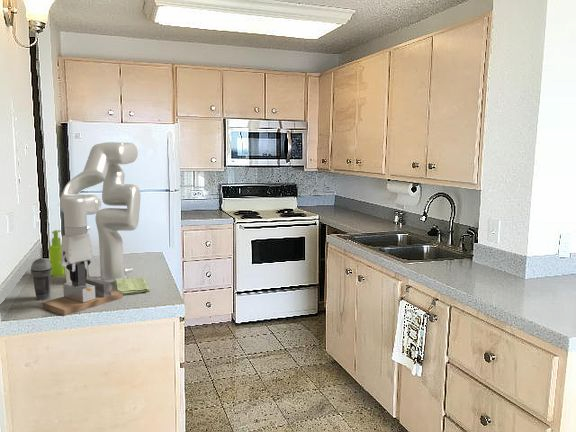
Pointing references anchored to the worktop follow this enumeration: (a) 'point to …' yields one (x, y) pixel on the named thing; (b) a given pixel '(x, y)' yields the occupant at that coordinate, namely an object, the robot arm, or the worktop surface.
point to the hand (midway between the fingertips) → (78, 279)
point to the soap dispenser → (56, 256)
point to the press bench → (72, 306)
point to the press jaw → (79, 286)
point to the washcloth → (131, 285)
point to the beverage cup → (41, 278)
